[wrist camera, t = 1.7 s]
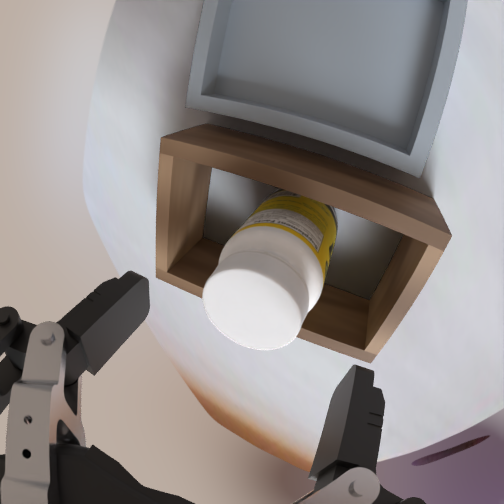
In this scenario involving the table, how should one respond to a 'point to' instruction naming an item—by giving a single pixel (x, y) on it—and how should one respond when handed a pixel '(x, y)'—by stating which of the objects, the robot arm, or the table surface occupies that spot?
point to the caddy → (311, 186)
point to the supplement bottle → (272, 271)
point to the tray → (332, 70)
